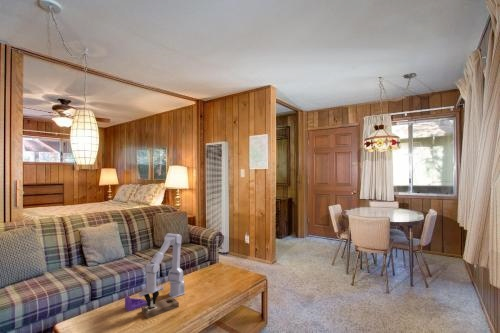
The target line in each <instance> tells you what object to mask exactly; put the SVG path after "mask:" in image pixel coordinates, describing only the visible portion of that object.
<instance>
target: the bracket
mask: <svg viewBox="0 0 500 333" xmlns="http://www.w3.org/2000/svg"><path fill="white" fill-rule="evenodd" d="M146 305H147V302H146V299H143V298H133V297H130V296H124V308H125V310H126V311H127V312H132V311H135V310H137V309H140V308H141V309H142V307H143V306H146Z"/></svg>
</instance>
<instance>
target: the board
mask: <svg viewBox="0 0 500 333" xmlns="http://www.w3.org/2000/svg"><path fill="white" fill-rule="evenodd" d="M179 306H180V304H179V301H178V300H177V299H175V297H174V298H173V297H171V296H170V297H166V298H164V299H161V300H158V301H157V300H156V302H155V304H154V308H153V309H150V306H149V307H148V306H147V305H146V306H143V307H141V313H142V314H143V315H144V316H145V318H147V319H148V320H149V319H150V318H154V317H156V316H159V315H162V314H164V313H166V312H168V311H172V310H175V309H177V308H179Z"/></svg>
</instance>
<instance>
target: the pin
mask: <svg viewBox="0 0 500 333" xmlns="http://www.w3.org/2000/svg"><path fill="white" fill-rule="evenodd" d="M153 300H154V298H153V296H150V309H153V308H154V302H153Z"/></svg>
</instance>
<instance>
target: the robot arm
mask: <svg viewBox="0 0 500 333" xmlns="http://www.w3.org/2000/svg"><path fill="white" fill-rule="evenodd" d="M182 238H183V237H182V235H181V234H179V233H170V232H168V233H166V235H164V238H163V239H164V240H163V241H164V242H163V243H162V245H161V247H160V249H159V251H157V252H155V254H154V255H153V257H152V259H151V260H150V261H149V262H148V263H146V264H145V267H144V269H143V270H144V272H145V276H146V289H144V290H143V291H141V292H138V297H139V298H142V297H144V298H145V299H144V300H145V301H146V302H147V306H148V307H149V306H150V298H151V295H152V297H153V298H154V300H153V302H154V304H155V302H157V298H158V297H159V294H160V292H159V291H164V286H162V285H161V286H157V272H158V271H159V268H160V264H161V263H162V261H163V259H164V255H165V253H166V252H167V251H168V249H169V248H170V246H172V259H171V260H172V261H171V263H172V264H171V268H170V269H169V270H168V274H167V280H168V281H169V284H170V288H169V292H168V293H167V295H168V296H170V297H173V298H174V299H175V298H177V297H180V296H182V295H185V294H186V292H185V290H186V289H185V286H186V285H185V282H184V271H183V269H182V268H181V247H182V246H181V245H182V240H183V239H182ZM150 294H151V295H150Z"/></svg>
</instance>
